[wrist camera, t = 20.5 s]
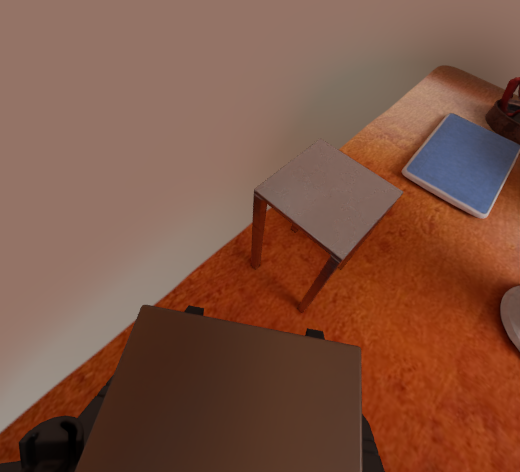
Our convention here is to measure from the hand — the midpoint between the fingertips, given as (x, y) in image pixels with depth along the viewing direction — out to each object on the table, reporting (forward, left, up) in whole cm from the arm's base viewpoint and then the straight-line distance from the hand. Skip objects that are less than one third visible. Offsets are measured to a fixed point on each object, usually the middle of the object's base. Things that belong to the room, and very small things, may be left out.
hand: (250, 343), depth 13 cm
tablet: (+38, +22, -16) cm, 46 cm away
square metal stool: (+8, +10, -15) cm, 20 cm away
